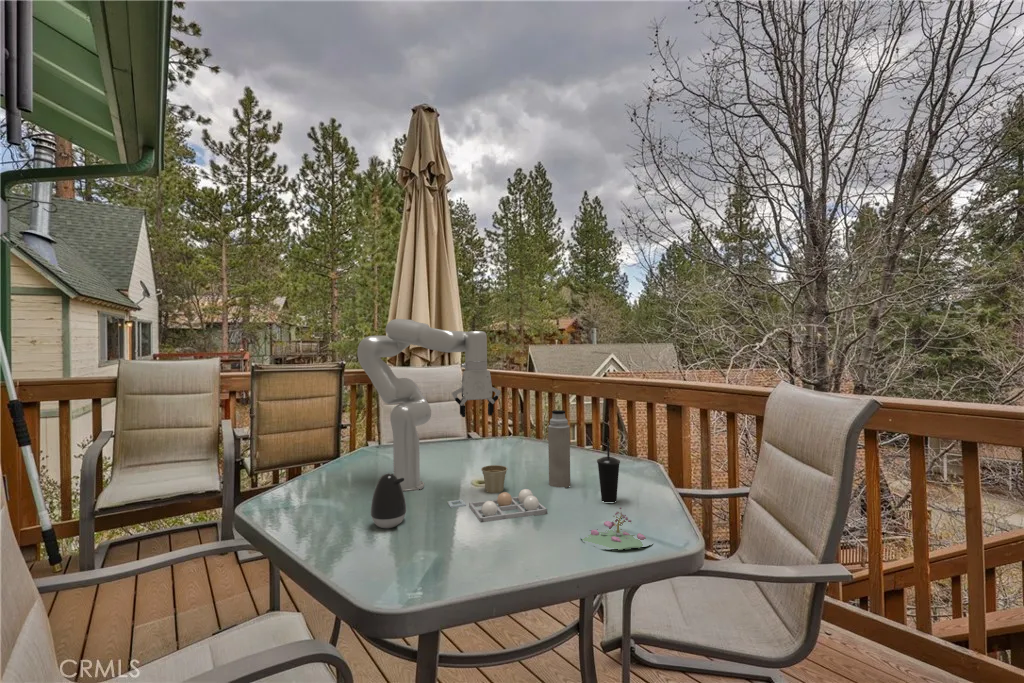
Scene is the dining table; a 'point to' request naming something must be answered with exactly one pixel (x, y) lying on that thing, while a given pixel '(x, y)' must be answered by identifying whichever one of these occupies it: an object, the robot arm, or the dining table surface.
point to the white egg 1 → (489, 508)
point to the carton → (540, 510)
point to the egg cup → (456, 504)
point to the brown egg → (504, 499)
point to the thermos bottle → (559, 450)
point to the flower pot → (494, 478)
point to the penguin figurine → (388, 502)
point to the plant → (615, 536)
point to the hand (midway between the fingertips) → (476, 415)
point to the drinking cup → (608, 477)
